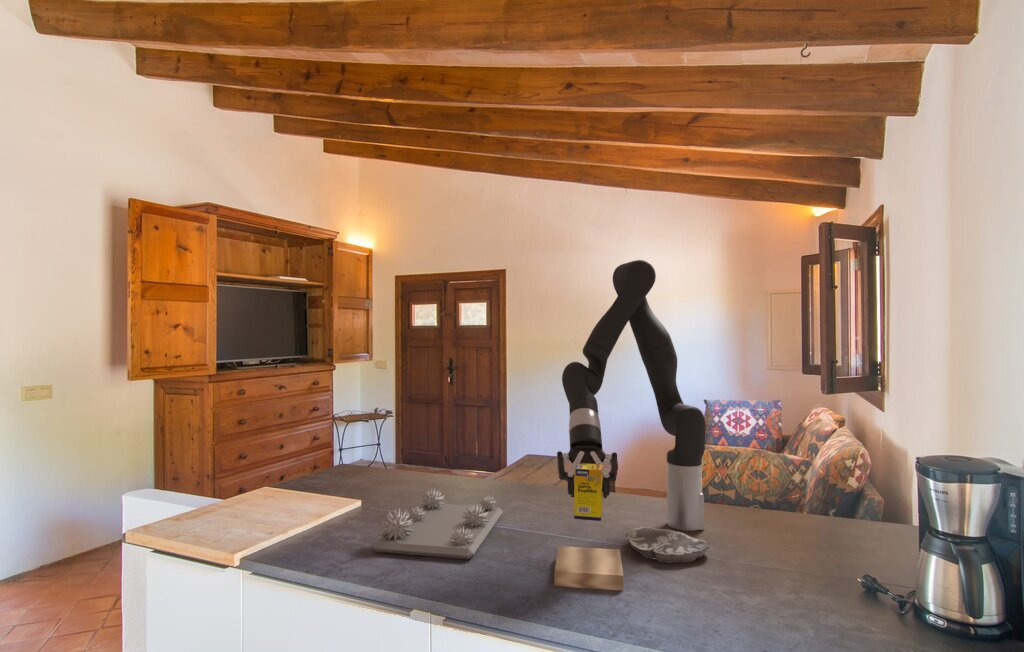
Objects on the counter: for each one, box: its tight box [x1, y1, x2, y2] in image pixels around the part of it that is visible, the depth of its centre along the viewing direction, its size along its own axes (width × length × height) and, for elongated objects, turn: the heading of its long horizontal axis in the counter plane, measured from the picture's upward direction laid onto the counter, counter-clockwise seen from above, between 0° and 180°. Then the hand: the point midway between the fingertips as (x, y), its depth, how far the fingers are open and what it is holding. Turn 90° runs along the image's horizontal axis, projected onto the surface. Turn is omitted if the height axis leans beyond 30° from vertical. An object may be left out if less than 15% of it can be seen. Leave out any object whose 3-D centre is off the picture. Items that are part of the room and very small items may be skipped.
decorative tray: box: [372, 488, 504, 560], centre depth 143 cm, size 35×26×10 cm
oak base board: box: [554, 545, 624, 592], centre depth 117 cm, size 14×14×3 cm
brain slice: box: [625, 526, 711, 564], centre depth 129 cm, size 20×17×3 cm
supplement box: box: [573, 463, 604, 522], centre depth 118 cm, size 6×6×11 cm
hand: (589, 495), depth 116 cm, fingers closed on supplement box, 6 cm apart
